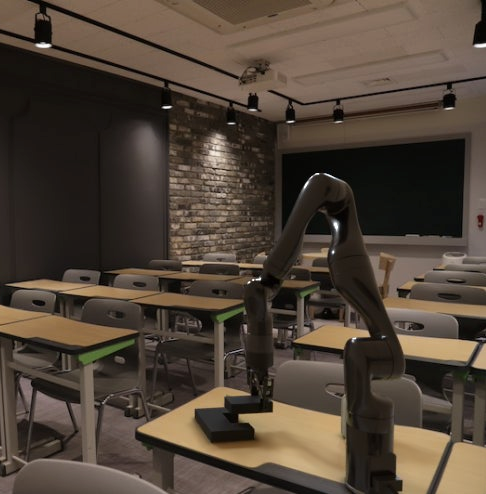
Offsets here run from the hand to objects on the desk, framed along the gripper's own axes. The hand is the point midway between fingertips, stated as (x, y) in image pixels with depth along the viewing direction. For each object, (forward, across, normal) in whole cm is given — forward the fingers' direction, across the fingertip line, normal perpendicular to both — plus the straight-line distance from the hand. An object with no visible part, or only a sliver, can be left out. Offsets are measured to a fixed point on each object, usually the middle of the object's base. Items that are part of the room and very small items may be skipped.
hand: (259, 406), depth 138 cm
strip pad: (+1, 0, +3) cm, 3 cm away
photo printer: (+6, -8, -24) cm, 26 cm away
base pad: (+6, 0, +11) cm, 12 cm away
